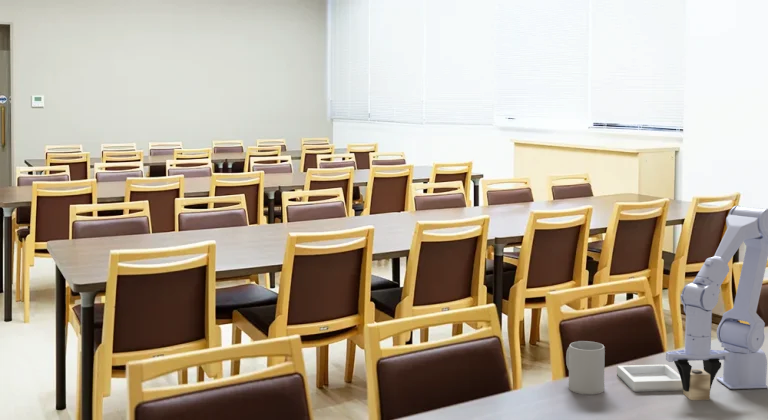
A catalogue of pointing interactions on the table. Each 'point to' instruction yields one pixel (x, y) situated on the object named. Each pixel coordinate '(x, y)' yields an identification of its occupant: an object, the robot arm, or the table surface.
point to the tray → (650, 377)
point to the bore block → (698, 385)
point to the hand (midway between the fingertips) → (696, 389)
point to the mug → (586, 367)
